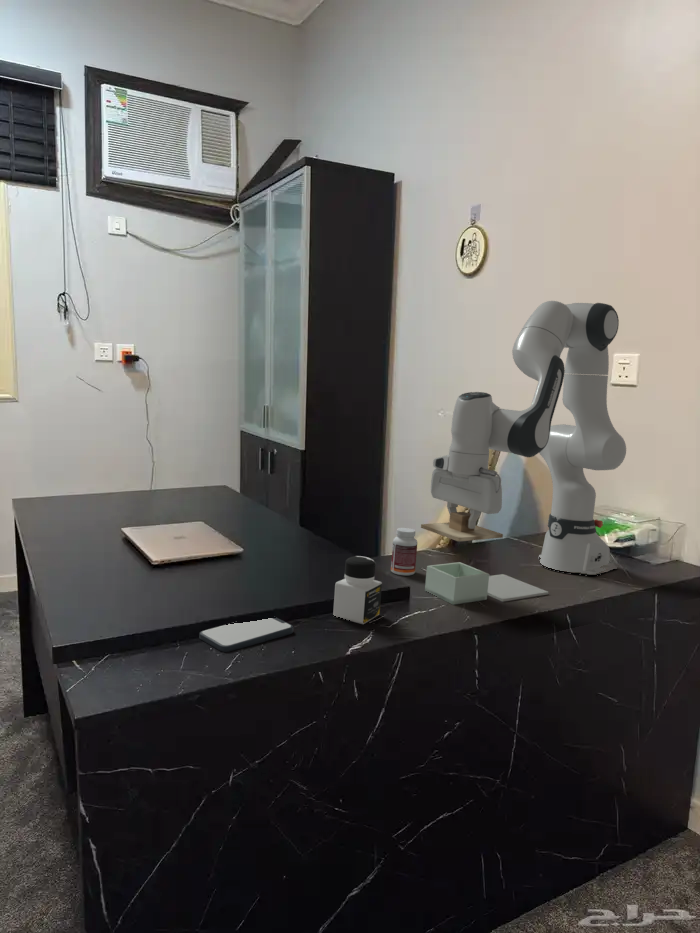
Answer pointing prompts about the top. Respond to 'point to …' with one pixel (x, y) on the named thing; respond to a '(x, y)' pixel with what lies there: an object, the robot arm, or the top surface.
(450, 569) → the pale green storage bin
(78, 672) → the top surface
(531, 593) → the mat
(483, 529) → the lid
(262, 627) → the phone case
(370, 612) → the medicine bottle
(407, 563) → the pill bottle
